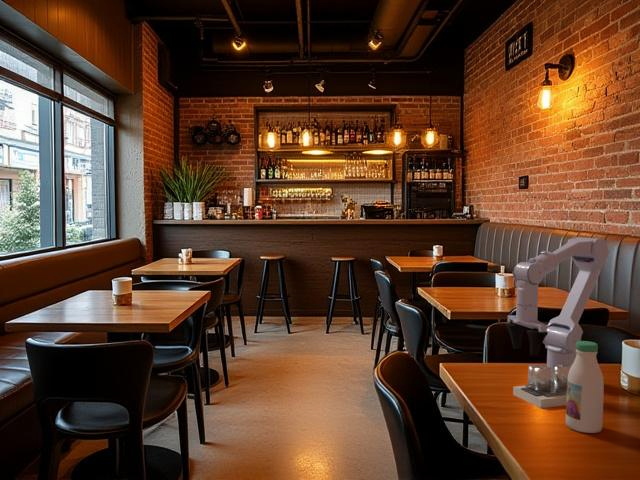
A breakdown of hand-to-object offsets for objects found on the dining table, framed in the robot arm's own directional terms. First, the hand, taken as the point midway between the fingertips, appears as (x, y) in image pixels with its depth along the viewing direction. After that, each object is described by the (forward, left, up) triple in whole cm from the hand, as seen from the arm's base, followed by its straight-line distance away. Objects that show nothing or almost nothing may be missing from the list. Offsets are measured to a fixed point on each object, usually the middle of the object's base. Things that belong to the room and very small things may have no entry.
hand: (525, 351), depth 162 cm
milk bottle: (+7, +30, -10) cm, 32 cm away
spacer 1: (-4, 0, -10) cm, 11 cm away
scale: (+1, +11, -10) cm, 15 cm away
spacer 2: (+3, +11, -7) cm, 13 cm away
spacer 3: (-3, +11, -7) cm, 13 cm away
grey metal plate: (0, +11, -7) cm, 13 cm away
